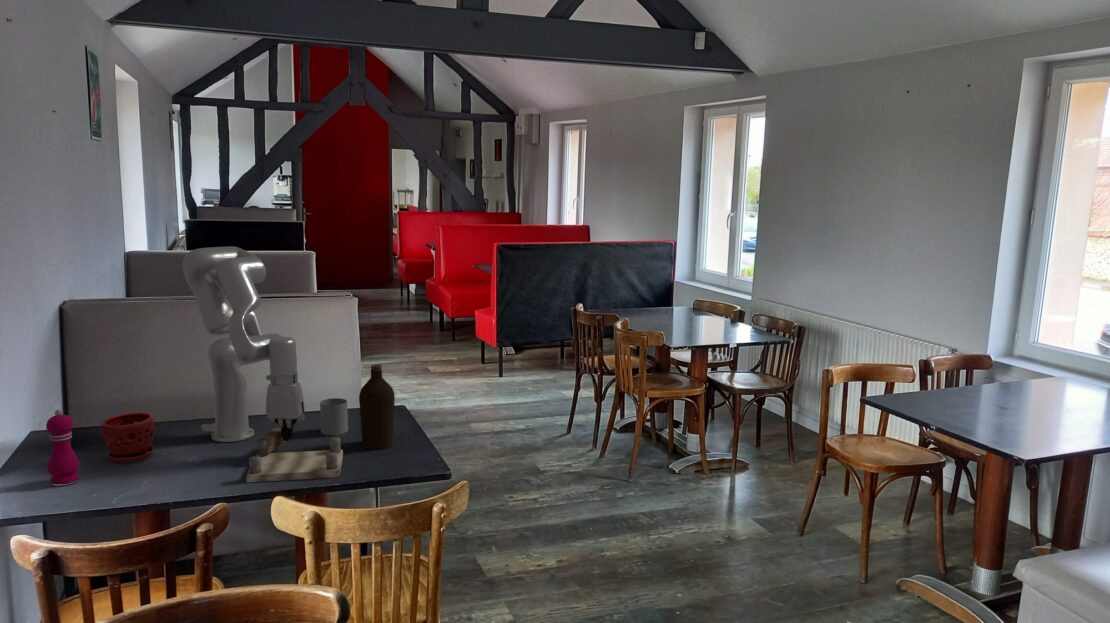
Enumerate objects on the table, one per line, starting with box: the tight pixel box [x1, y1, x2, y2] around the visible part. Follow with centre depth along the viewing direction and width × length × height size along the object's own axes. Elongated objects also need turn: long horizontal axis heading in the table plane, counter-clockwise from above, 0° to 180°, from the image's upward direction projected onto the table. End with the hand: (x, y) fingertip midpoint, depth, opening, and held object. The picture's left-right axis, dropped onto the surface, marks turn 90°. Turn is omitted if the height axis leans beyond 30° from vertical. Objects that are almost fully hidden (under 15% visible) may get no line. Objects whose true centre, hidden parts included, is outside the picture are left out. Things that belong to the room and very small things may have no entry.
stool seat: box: [246, 436, 344, 483], centre depth 220 cm, size 24×17×6 cm
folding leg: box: [256, 425, 286, 455], centre depth 230 cm, size 15×3×4 cm, turn 174°
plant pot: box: [101, 412, 155, 464], centre depth 226 cm, size 13×13×12 cm
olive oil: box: [358, 364, 396, 450], centre depth 240 cm, size 11×11×25 cm
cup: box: [319, 397, 349, 436], centre depth 253 cm, size 8×8×10 cm
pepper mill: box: [46, 408, 80, 485], centre depth 206 cm, size 7×7×20 cm
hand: (287, 439), depth 232 cm, fingers closed
